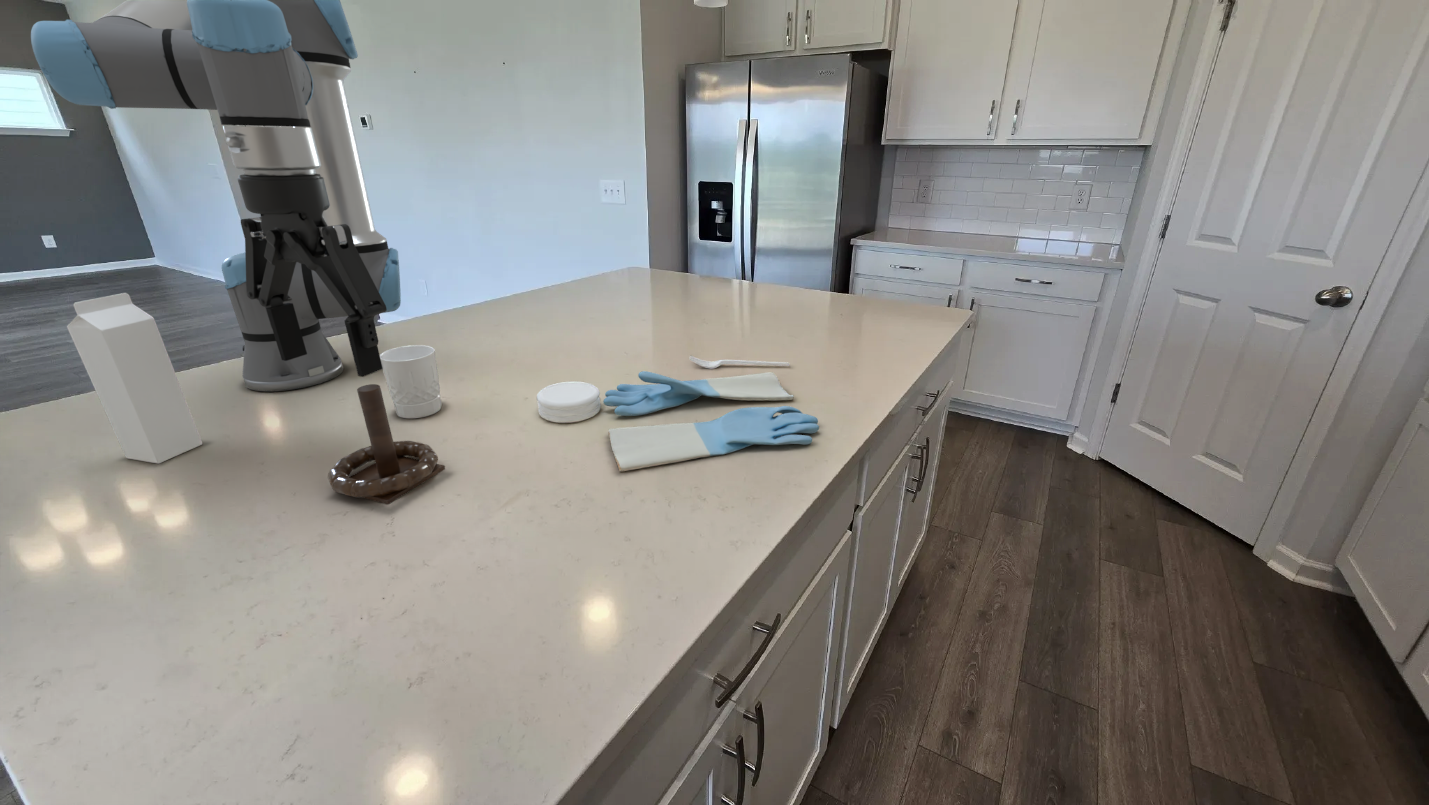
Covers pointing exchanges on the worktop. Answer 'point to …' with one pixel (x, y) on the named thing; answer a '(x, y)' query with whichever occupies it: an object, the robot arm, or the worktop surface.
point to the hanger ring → (385, 485)
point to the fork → (733, 362)
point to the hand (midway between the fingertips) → (331, 364)
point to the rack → (383, 445)
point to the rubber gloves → (703, 437)
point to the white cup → (412, 380)
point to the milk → (133, 378)
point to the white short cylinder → (568, 401)
